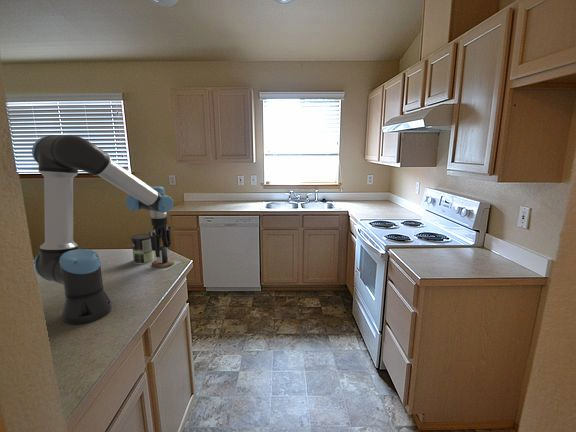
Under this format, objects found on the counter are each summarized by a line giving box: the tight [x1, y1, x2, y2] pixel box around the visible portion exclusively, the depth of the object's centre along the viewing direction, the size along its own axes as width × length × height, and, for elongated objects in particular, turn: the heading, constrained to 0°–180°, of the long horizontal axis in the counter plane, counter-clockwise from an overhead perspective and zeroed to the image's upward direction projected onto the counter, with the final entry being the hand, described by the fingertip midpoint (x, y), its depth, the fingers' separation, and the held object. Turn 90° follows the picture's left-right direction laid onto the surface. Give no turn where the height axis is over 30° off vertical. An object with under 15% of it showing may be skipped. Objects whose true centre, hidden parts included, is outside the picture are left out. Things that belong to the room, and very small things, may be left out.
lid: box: [151, 245, 175, 268], centre depth 161 cm, size 11×11×9 cm
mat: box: [144, 260, 182, 271], centre depth 162 cm, size 13×13×1 cm
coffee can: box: [130, 233, 155, 265], centre depth 166 cm, size 10×10×14 cm
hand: (162, 260), depth 161 cm, fingers closed on lid, 4 cm apart
